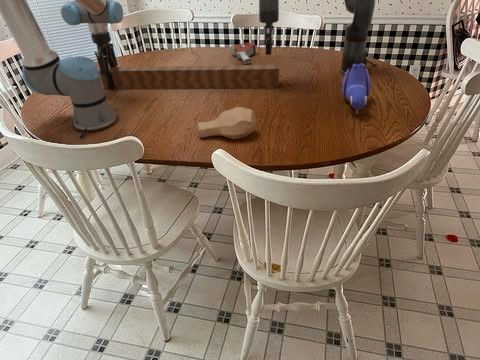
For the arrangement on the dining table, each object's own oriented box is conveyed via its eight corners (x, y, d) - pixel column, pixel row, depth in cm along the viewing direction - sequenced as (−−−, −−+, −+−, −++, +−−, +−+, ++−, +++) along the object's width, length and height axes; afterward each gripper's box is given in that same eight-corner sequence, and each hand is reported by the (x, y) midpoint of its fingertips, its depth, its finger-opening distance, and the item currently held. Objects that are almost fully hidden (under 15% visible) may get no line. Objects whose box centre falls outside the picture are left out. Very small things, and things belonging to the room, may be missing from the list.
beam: (104, 88, 161) (98, 71, 156) (108, 84, 165) (103, 67, 160) (278, 87, 151) (278, 68, 146) (278, 83, 155) (279, 64, 150)
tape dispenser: (247, 68, 177) (266, 54, 190) (247, 57, 174) (266, 44, 186) (218, 62, 185) (238, 48, 197) (217, 52, 181) (238, 39, 194)
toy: (340, 103, 144) (343, 119, 122) (342, 60, 138) (346, 69, 115) (366, 103, 142) (373, 119, 120) (369, 59, 135) (378, 68, 113)
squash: (259, 140, 116) (255, 118, 110) (200, 150, 118) (193, 129, 112) (256, 120, 124) (253, 99, 117) (201, 130, 126) (194, 109, 119)
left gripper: (98, 37, 141) (114, 93, 155) (116, 26, 155) (129, 78, 169) (81, 38, 142) (98, 93, 155) (100, 27, 156) (114, 78, 170)
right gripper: (278, 11, 129) (277, 56, 139) (279, 4, 141) (278, 46, 150) (257, 12, 130) (258, 57, 140) (260, 4, 142) (261, 46, 151)
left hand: (114, 85), depth 162 cm, fingers closed on beam, 5 cm apart
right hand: (269, 51), depth 145 cm, fingers open, 8 cm apart
